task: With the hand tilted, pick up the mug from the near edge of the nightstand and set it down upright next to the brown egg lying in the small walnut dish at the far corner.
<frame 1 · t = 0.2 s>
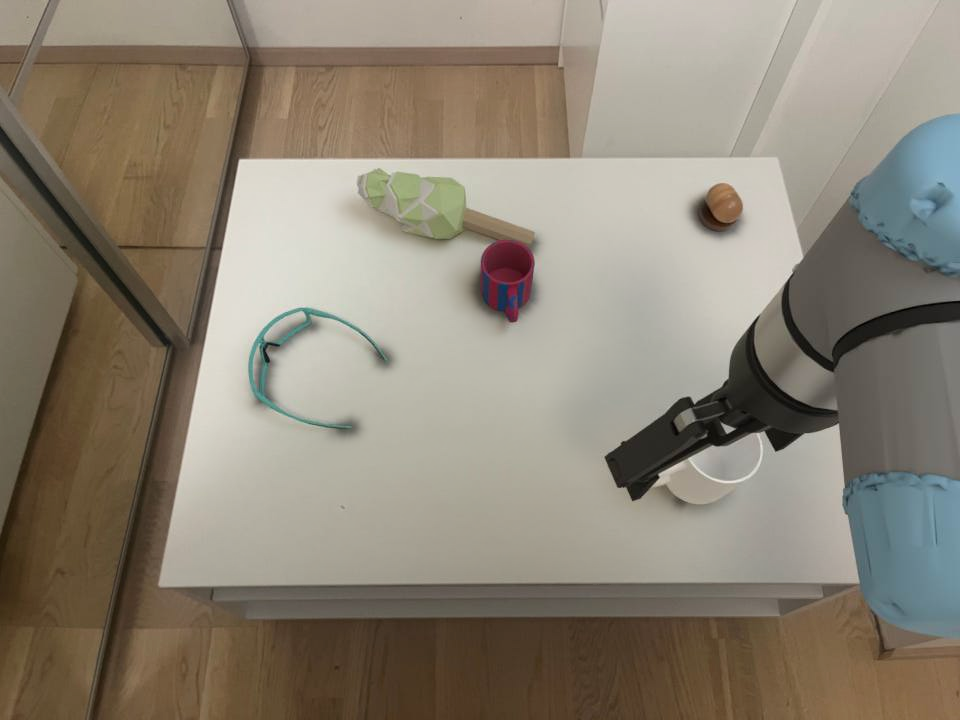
hand: (701, 460, 57), 21 cm above the table, tool pointing down, fingers open, 13 cm apart
cup: (505, 301, 88), on the table
decorative object: (447, 225, 94), on the table
mug: (679, 476, 78), on the table
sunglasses: (317, 373, 84), on the table
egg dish: (717, 216, 94), on the table
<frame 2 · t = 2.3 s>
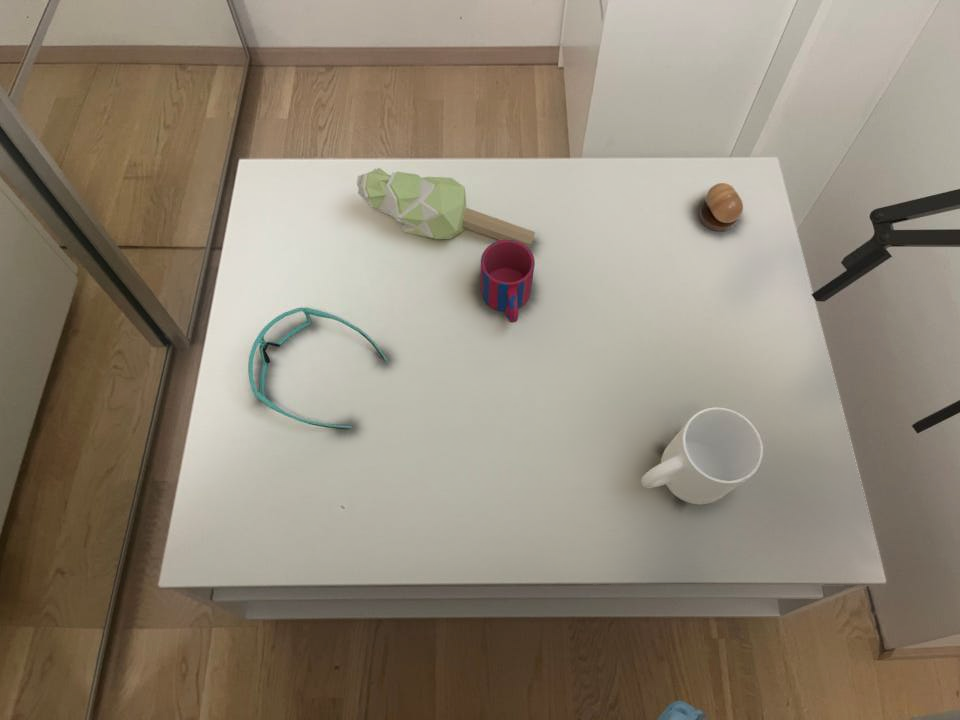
hand: (865, 360, 58), 24 cm above the table, tool tilted 40°, fingers open, 13 cm apart
nothing on the table moved.
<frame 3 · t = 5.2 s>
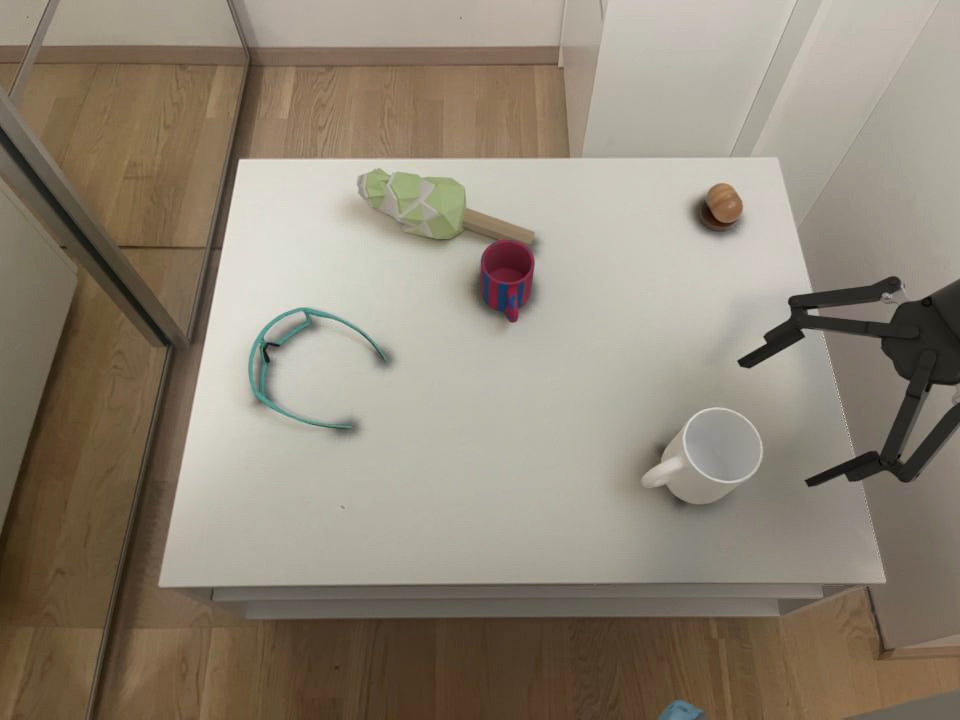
hand: (775, 421, 68), 12 cm above the table, tool tilted 45°, fingers open, 13 cm apart
nothing on the table moved.
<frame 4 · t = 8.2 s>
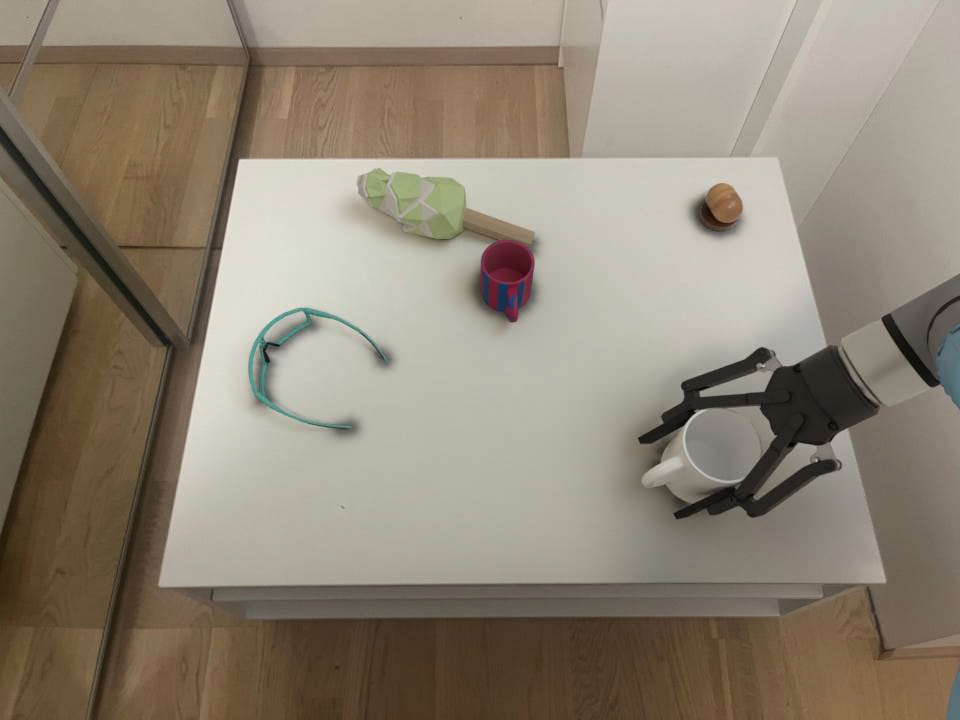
hand: (661, 477, 74), 4 cm above the table, tool tilted 45°, fingers closed on mug, 8 cm apart
mug: (679, 476, 78), on the table, touching gripper
everything else where it was.
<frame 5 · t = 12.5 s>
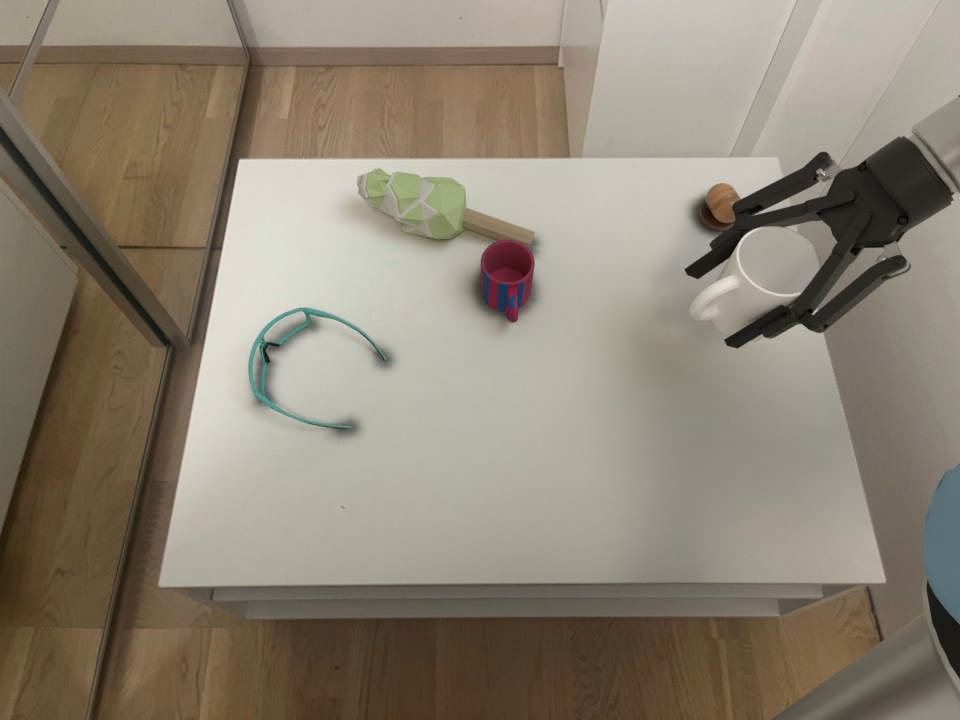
hand: (710, 308, 71), 15 cm above the table, tool tilted 45°, fingers closed on mug, 8 cm apart
mug: (726, 316, 75), point 11 cm above the table, touching gripper
everything else where it was.
when the fingers open (4 cm above the table, at t = 16.9 s): mug stays where it is, on the table.
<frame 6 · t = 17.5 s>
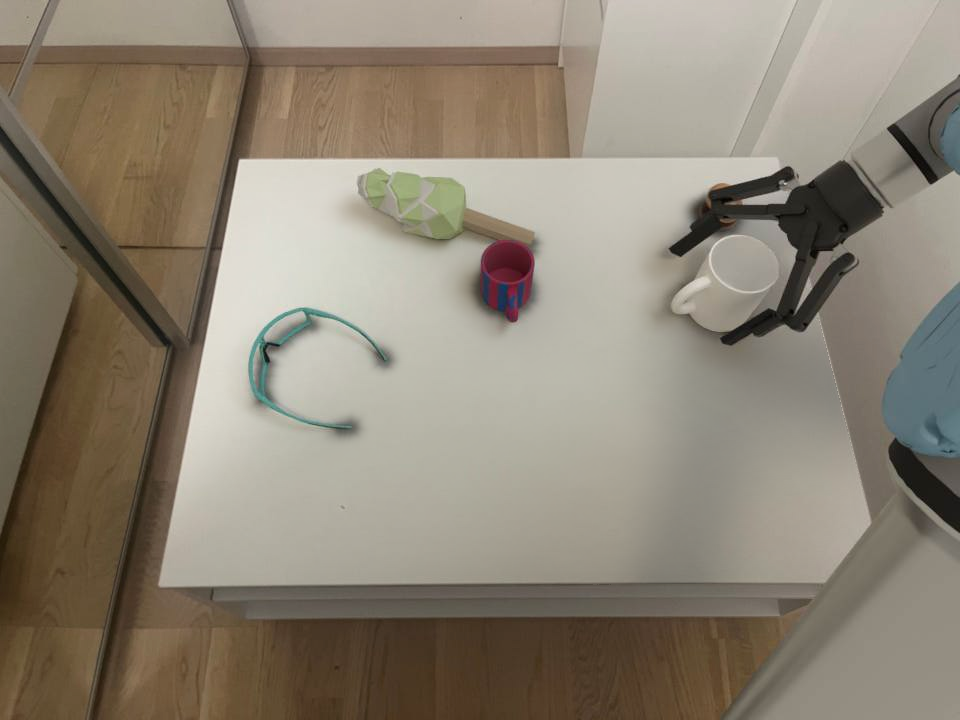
hand: (698, 296, 83), 5 cm above the table, tool tilted 45°, fingers open, 13 cm apart
mug: (702, 311, 88), on the table
everything else where it was.
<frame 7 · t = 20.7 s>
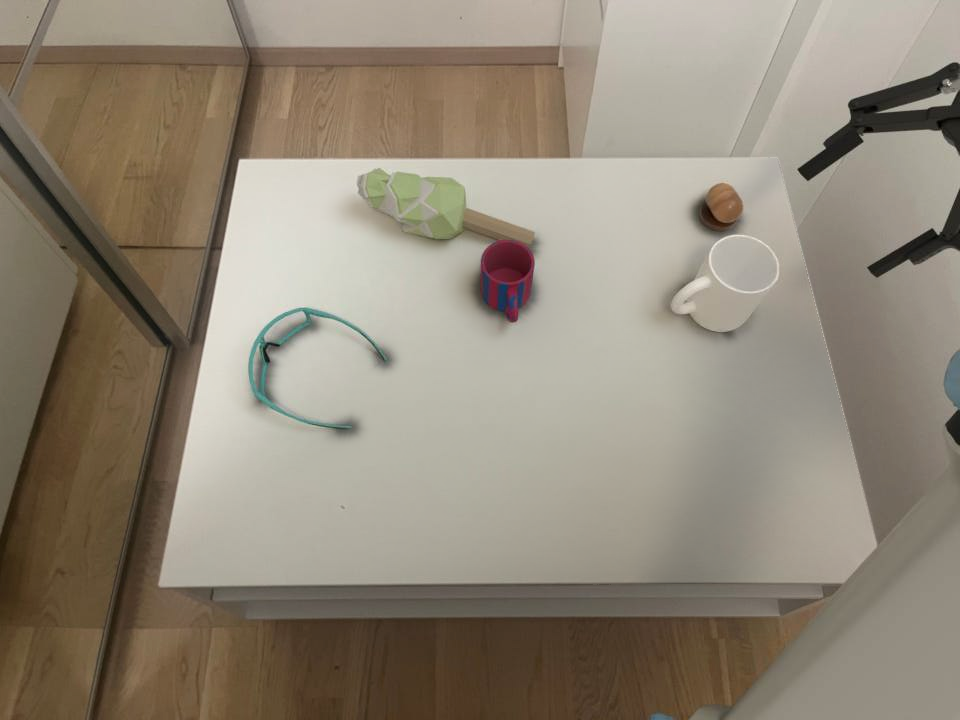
hand: (835, 222, 72), 18 cm above the table, tool tilted 45°, fingers open, 13 cm apart
nothing on the table moved.
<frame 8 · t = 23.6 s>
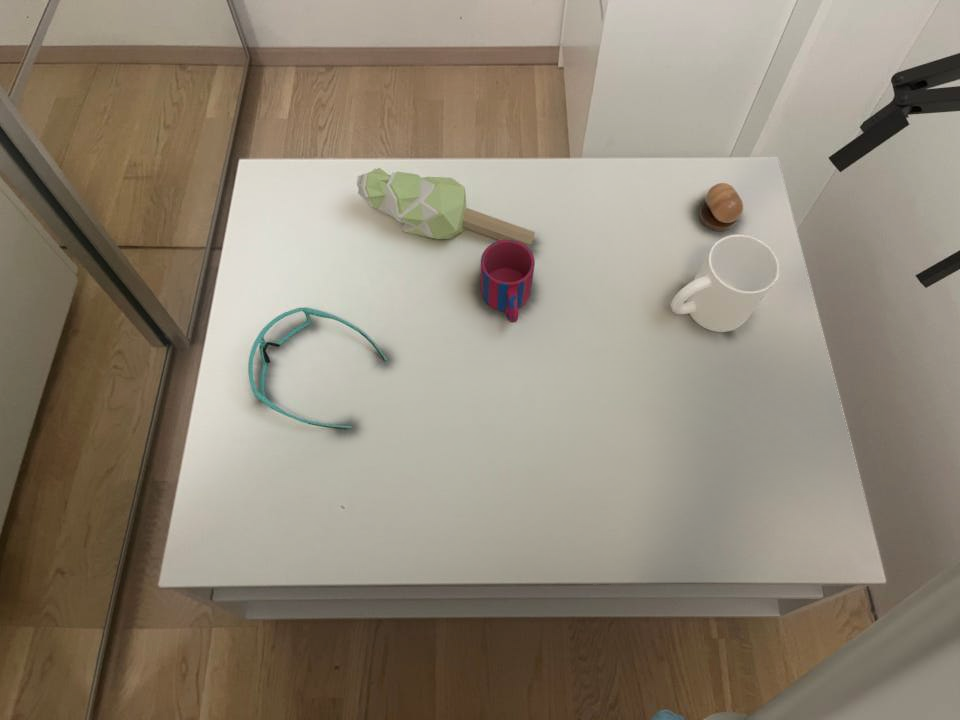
hand: (874, 221, 60), 28 cm above the table, tool tilted 45°, fingers open, 13 cm apart
nothing on the table moved.
at the end: mug inside the target area on the table beside the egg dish (0.0 cm from its centre), on the table; mug tilted 0°; the gripper is holding nothing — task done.
